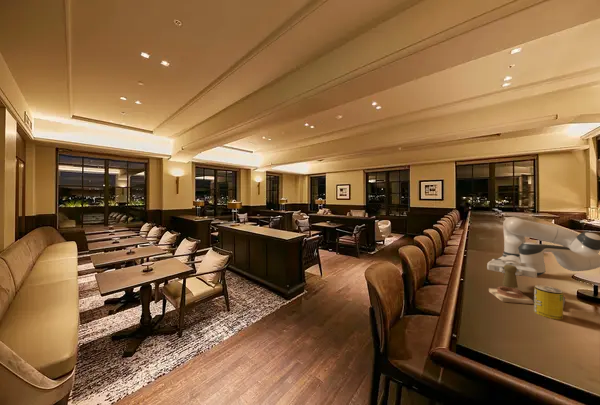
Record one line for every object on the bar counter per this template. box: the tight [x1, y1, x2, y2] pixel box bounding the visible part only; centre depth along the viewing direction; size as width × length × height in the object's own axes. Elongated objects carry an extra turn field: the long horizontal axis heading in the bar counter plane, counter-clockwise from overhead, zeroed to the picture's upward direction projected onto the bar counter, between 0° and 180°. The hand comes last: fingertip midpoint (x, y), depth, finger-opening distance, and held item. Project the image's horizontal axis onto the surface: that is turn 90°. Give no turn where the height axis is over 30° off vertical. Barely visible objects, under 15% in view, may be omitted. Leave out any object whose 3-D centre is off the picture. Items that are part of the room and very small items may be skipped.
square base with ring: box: [488, 285, 534, 305], centre depth 122 cm, size 13×13×4 cm
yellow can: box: [533, 284, 564, 321], centre depth 105 cm, size 9×9×12 cm
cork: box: [502, 265, 518, 289], centre depth 122 cm, size 6×6×11 cm
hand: (510, 272), depth 121 cm, fingers closed on cork, 4 cm apart
